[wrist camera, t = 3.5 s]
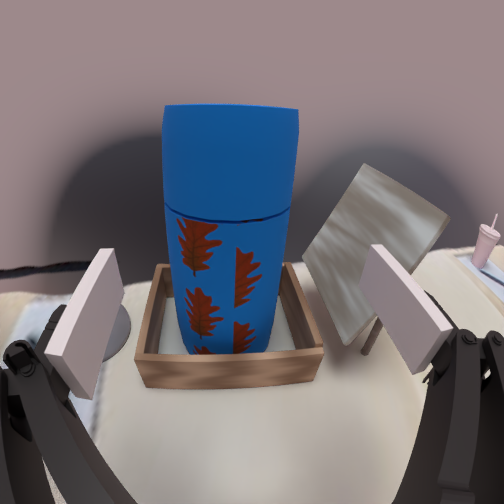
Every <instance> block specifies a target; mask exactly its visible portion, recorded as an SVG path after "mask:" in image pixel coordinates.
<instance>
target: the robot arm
mask: <svg viewBox="0 0 504 504" xmlns="http://www.w3.org/2000/svg"><path fill="white" fill-rule="evenodd" d="M358 286H359V288H360V289H361V291H362V292H363V294H364V295H365V297H366V298H367V300H368V302H369V303H370V305H371V306H372V308H373V309H374V311H375V313H376V314H377V316H378V317H379V319H380V321H381V322H382V324H383V325H384V327H385V329H386V330H387V332H388V334H389V335H390V337H391V339H392V340H393V342H394V344H395V345H396V347H397V349H398V351H399V352H400V354H401V356H402V357H403V359H404V361H405V363H406V365H407V366H408V368H409V370H410V372H411V373H412V375H413V374H416V373H419V372H422V371H424V370H425V369H426V368H427V366H428V365H429V364H430V362H431V363H432V365H433V368H432V369H431V371H430V372H429V373H428V374H427V376H426V377H425V378H424V380H423V382H422V383H425V382H426V380H427V379H428V378H429V382H428V383H427V384H428V388H427V394H426V399H425V404H424V409H423V413H422V417H421V422H420V426H419V429H418V433H417V437H416V440H415V444H414V447H413V450H412V454H411V457H410V460H409V463H408V466H407V469H406V471H405V474H404V477H403V480H402V482H401V485H400V487H399V490H398V492H397V494H396V497H395V499H394V501H393V502H392V504H504V338H503V336H502V335H501V334H500V333H499V332H496V331H489V332H488V334H487V335H486V337H485V338H484V339H483V338H477V337H476V336H475V335H474V334H473V333H472V332H471V331H469V330H466V329H460V330H459V329H458V327H457V326H456V325H455V323H454V322H453V321H452V320H451V318H450V317H449V316H448V315H447V313H446V312H445V311H444V310H443V308H442V307H441V306H440V305H438V302H437V301H436V300H435V299H434V297H433V296H431V295H430V294H429V293H427V292H426V291H425V290H424V291H423V290H422V288H421V287H420V286H419V285H418V284H417V283H416V281H415V280H414V279H413V278H412V277H411V276H410V275H409V273H408V272H407V271H406V270H405V269H404V268H403V267H402V266H401V264H400V263H399V262H398V261H397V260H396V259H395V258H394V257H393V256H392V255H391V254H390V253H389V252H388V250H387V249H386V248H385V247H384V246H383V245H382V244H378V245H370V248H369V252H368V255H367V259H366V262H365V266H364V269H363V272H362V275H361V279H360V282H359V285H358ZM124 294H125V293H124V289H123V285H122V281H121V277H120V273H119V270H118V266H117V261H116V257H115V252H114V248H113V249H100V250H99V252H98V253H97V255H96V256H95V258H94V260H93V261H92V263H91V264H90V266H89V268H88V269H87V271H86V273H85V274H84V276H83V278H82V280H81V281H80V283H79V285H78V286H77V288H76V290H75V292H74V294H73V295H72V297H71V299H70V301H69V303H68V305H62V304H61V305H60V306H59V307H58V308H57V309H56V310H55V311H54V312H53V313H52V315H51V317H50V319H49V323H47V325H46V327H45V330H44V331H43V333H42V335H41V337H40V339H39V341H38V343H37V345H36V347H35V349H34V350H33V349H32V347H31V346H30V344H29V343H28V342H27V341H25V340H17V341H14V342H13V343H11V344H10V345H9V346H8V347H7V348H6V350H5V352H4V355H3V361H4V362H5V364H6V365H7V366H8V368H9V369H2V368H1V366H0V504H55V501H54V498H53V495H52V492H51V489H50V486H49V482H48V479H47V475H46V472H45V468H44V464H43V460H44V462H45V464H46V466H47V468H48V470H49V472H50V474H51V476H52V478H53V480H54V482H55V484H56V485H57V487H58V489H59V491H60V493H61V494H62V496H63V498H64V499H65V501H66V503H67V504H137V503H136V501H135V500H134V499H133V498H132V497H131V495H130V494H129V493H128V492H127V490H126V489H125V488H124V486H123V485H122V484H121V483H120V481H119V480H118V479H117V477H116V476H115V474H114V473H113V472H112V470H111V469H110V467H109V466H108V464H107V463H106V462H105V460H104V459H103V457H102V455H101V454H100V452H99V451H98V449H97V448H96V446H95V444H94V443H93V441H92V439H91V438H90V436H89V434H88V433H87V431H86V429H85V427H84V425H83V424H82V422H81V420H80V418H79V416H78V414H77V412H76V410H75V408H74V406H73V404H72V402H71V400H70V399H69V398H68V395H69V391H70V390H71V391H72V393H73V394H74V395H75V397H77V398H83V399H88V400H92V399H93V395H94V391H95V387H96V383H97V379H98V375H99V371H100V368H101V364H102V361H103V357H104V354H105V350H106V347H107V344H108V340H109V337H110V334H111V331H112V328H113V325H114V322H115V319H116V316H117V313H118V310H119V307H120V305H121V302H122V299H123V296H124ZM489 369H490V372H491V374H490V375H489V376H488V378H486V379H485V376H484V375H485V373H486V372H487V371H488V370H489ZM42 458H43V460H42ZM468 486H469V487H468Z"/></svg>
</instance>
